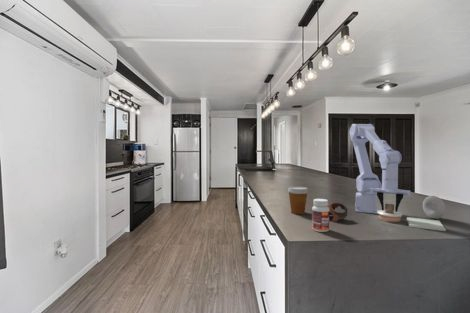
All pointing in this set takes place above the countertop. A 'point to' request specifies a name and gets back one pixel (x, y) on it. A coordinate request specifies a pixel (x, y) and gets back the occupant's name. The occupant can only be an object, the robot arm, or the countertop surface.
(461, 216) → the countertop surface
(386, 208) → the lid
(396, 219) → the orange round disc
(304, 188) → the disposable coffee cup
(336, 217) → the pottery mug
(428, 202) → the white tape roll
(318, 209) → the pill bottle
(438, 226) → the mat
